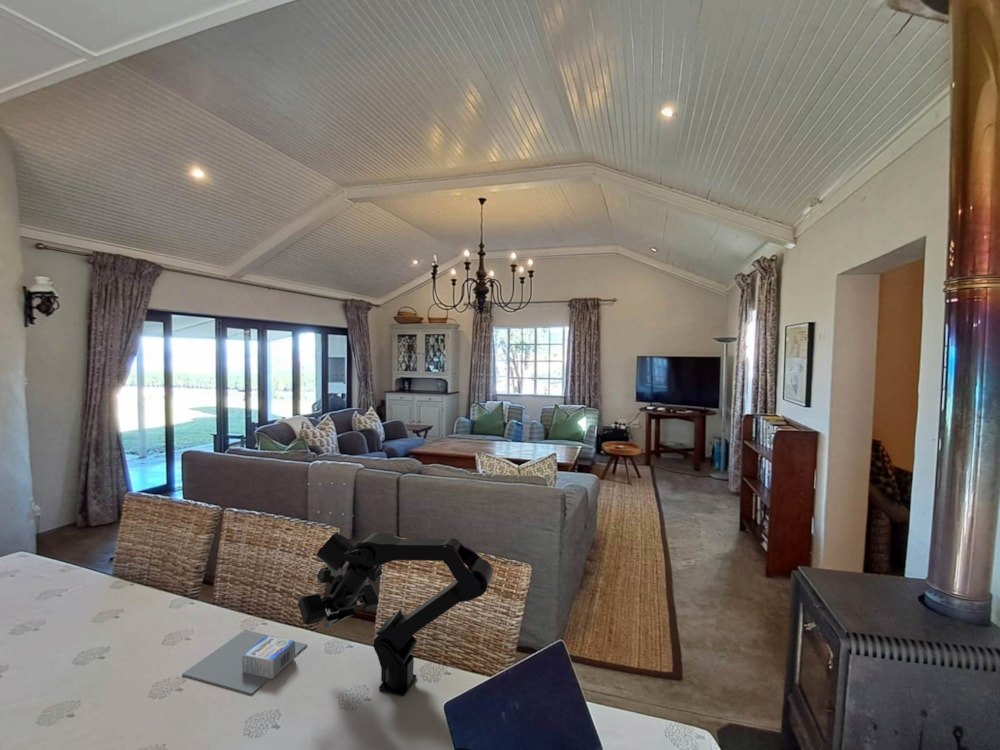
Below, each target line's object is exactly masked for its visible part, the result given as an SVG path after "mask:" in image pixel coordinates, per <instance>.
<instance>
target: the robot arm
mask: <svg viewBox="0 0 1000 750" xmlns="http://www.w3.org/2000/svg"><path fill="white" fill-rule="evenodd" d="M316 557H317V558H318V559H319V560H321V561H322V562H323V563H325V564H326V565H327V566H324V567H321V568H320V569H319V571H318V572H317V575H316V578H317V580H318V582H319V583H320V584H321V585H322V584H326V586H328V588H326V591H327V594H328V595H330V596H327V597H321V595H320V593H312V594H306V595H302V596H301V597H300V599H299V601H298V603H297V606H298V608H299V612H300V615H301V618H302V620H303V623H304V625H306V626H310V625H314V624H318V623H320V622H321V621H323V627H324V629H329V628H331V627H333V626H334V625H336V624H338V623H340V622H342V621H344V620H346V619H348V618H350V617H353V616H354V615H355V614H356V611H355V609H354V608H357V606H359V605H362V604H364V606H363V609H364V611H365V612H367V611H372V610H375V609H376V607H377V606H378V604H379V601H380V600H379V599H380V598H379V595H378V594H377V592H376V590H375V588H374V586H373V584H372V583H369V582H368V581H369V580H371V581H372V582H373V583H375V582H376V581H377V580H378V579H379V578H380V577H381V576H382V574H383V571H382V568H381V567H380V566H383V565H385V564H388V563H391V562H395V561H426V562H429V561H430V562H432V561H433V562H443V563H444V564H445V565H446V567H448V569H449V571H450V573H451V575H452V577H454V581H453V582H452V583H450V584H449V585H447V586H446V587H445V588H443V589H442V590H441V591H439V592H438V593H436V594H435V595H433V596H432V597H431V598H429V599H428V600H425V602H423V603H422V604H420V605H419V606H417V608H415V609H414V610H413V611H411V612H409V613H407V614H406V613H405V614H403V612H402V610H401V609H399V610H398V611H397V612H396V613H395V614H394V615H391V616H388V617H387V619H386V620H385V621H384V623H383V625H382V626H381V627H380V628H379V630H377V633H376V637H375V638H374V640H373V649H374V651H375V653H376V656H377V658H378V662H379V665H380V671H381V673H380V681H381V684H380V685H379V687H378V690H379V691H381V692H385V693H389V694H394V695H397V696H401V697H404V696H405V695H406V694H407V692H408V691H409V690H410V688H411V686H412V685H413V684H414V682H415V680H417V675H416V674H414V664H415V663H414V657H415V656H414V655H412V652H413V650H414V649H415V648H416V645H417V642H418V640H417V638H415V636H414V635H416V633H418V632H419V631H420V630H423V628H425V627H426V626H428V625H429V624H431V623H432V622H433V621H435V620H437V619H438V618H439V617H441V616H442V615H443V614H445V613H447V612H448V611H449V610H451V609H452V608H454V607H455V606H456V605H457V604H460V603H465V602H471V601H472V600H474V599H477V598H479V597H481V596H483V595H484V594H486V591H487V590H488V586H489V584H490V582H491V580H492V577H493V573H494V571H493V567H492V565H491V564H490V562H489V561H488V560H485V559H483V558H482V557H481V556H480V555H479V554H478V553H477V552H475V551H474V550H472V549H471V548H469V547H466V546H465V545H463V544H462V543H461V542H460V541H459V539H457V538H453V537H449V538H439V539H438V538H399V537H397V536H396V535H395V536H394V535H393V534H390V533H385V532H380V531H378V532H377V531H376V532H374V533H371V535H369V536H368V537H367V538H365V539H364V540H363V539H362V540H360V541H358V542H356V544H354V545H353V544H352V543H350V542H349V541H347V540H346V539H345V538H344V537H343V536H342V535H341V534H339V532H338V531H337V532H334V533H333V534H332V535H331V536H330V537H329V539H328V540H327V541H326V542H325V543H324V544H323V545H322V546H321V547H320V548H319V549H318V551H317V553H316Z"/></svg>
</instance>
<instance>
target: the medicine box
mask: <svg viewBox="0 0 1000 750" xmlns="http://www.w3.org/2000/svg"><path fill="white" fill-rule="evenodd" d="M271 636H272V635H270V636H265V637H264V638H263V639H261V640H260V641H259V642H258V643H257V644H255V645H254V646H253V647H252V648H250V649H249V650H248V651H247V652H246V653H244V654H243V657H242V672H243V673H247V674H252V675H257V676H262V677H267V678H270V679H274V678H275V677H276V676H277V675H278V674H279V673H280V672H282V671H283V669H284V668H286V666H288V665H289V664H290V662H292V661H293V660H294V659H295V658H296V656H295V642H296V641H295V640H292V639H286V638H281V637H278V638H276V637H277V636H274V637H271Z"/></svg>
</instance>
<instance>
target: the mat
mask: <svg viewBox="0 0 1000 750" xmlns="http://www.w3.org/2000/svg"><path fill="white" fill-rule="evenodd" d="M265 636H271V637H276V638H279V637H278V636H274V635H269V634H265V633H261V632H257V631H252V630H247V629H244V630H242V631H241V632H240V633H238V634H237V635H236V636H234V637H232V638H231V639H230V640H228V641H227V642H225V643H224V644H223V645H221V646H219V647H218V648H217V649H216V650H214V651H213V652H211V653H210V654H208V655H206V657H204V658H203V659H201V660H200V661H198V662H197V663H196V664H194V665H193V666H192V667H190V668H188V669H187V670H186V671H183V672H182V674H181V676H182V677H186V678H190V679H193V680H197V681H201V682H204V683H207V684H211V685H214V686H218V687H222V688H224V687H225V688H224V689H228V688H229V690H232V689H233V690H232V691H235V690H236V692H240V693H242V694H246V695H249V696H252V695H254V694H255V693H256V692H257V691H258V690H260V688H262V687H263V686H264V685H265V684H266V683H267V682H268V681H269V680H271V678H267V677H262V676H257V675H252V674H247V673H243V672H242V657H243V654H244V653H246V652H247V651H248V650H249V649H250V648H252V647H253V646H254V645H255V644H257V643H258V642H259V641H260V640H261V639H263V638H264V637H265ZM307 646H308V644H307V643H303V642H299V641H295V657H297V655H299V654H301V652H302V651H303V650H304V649H305V648H307Z"/></svg>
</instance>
